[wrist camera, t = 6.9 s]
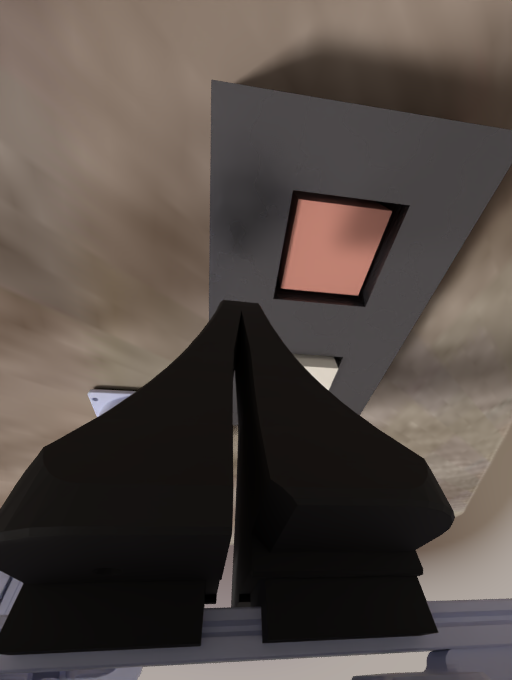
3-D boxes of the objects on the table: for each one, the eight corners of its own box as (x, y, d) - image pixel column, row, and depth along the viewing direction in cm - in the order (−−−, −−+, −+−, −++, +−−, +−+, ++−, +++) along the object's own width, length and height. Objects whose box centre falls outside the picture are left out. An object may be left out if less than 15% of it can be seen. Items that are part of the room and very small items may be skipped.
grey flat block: (338, 392, 26) (350, 429, 23) (212, 386, 24) (207, 424, 21) (463, 130, 13) (530, 133, 10) (220, 90, 12) (211, 79, 9)
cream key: (311, 380, 22) (319, 410, 20) (258, 377, 22) (260, 408, 19) (326, 338, 19) (338, 368, 17) (266, 334, 19) (269, 364, 16)
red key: (342, 272, 17) (358, 295, 15) (275, 265, 17) (280, 288, 14) (368, 197, 15) (392, 211, 12) (289, 186, 14) (298, 199, 12)
